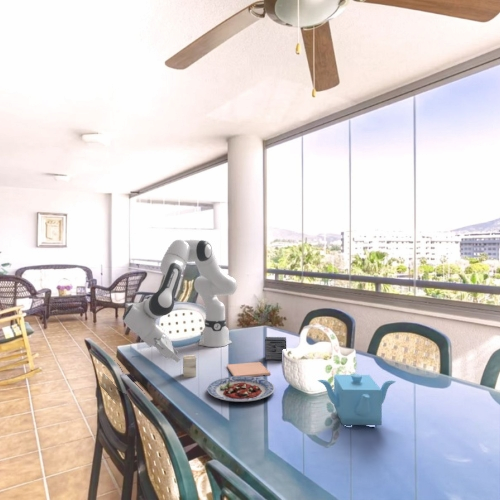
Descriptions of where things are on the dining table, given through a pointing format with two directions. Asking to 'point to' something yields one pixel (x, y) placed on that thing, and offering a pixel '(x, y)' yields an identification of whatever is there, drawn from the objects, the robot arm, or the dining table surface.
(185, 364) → the ash block
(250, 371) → the terracotta tile
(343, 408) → the teakettle
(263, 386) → the ceramic plate
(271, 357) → the small box
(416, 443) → the dining table surface
